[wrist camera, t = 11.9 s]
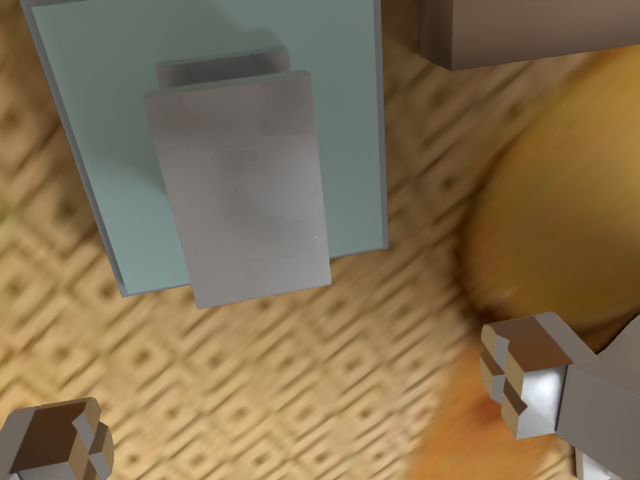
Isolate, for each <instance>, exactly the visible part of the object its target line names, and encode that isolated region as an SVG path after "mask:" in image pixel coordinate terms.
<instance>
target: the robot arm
mask: <svg viewBox="0 0 640 480" xmlns="http://www.w3.org/2000/svg"><path fill="white" fill-rule="evenodd" d="M481 340H482V342H483V343H484V345H485V346H486V349H485V350H484V351H483V353H482V354H481V355H480V372H481V377H482V381H483V383H484V386H485V388H486V390H487V392H488V394H489V396H490V397H491V399H493V400H495V401H496V402H498V403H500V404H502V409H501V416H502V417H503V419H504V420H505V422H506V424H507V425H508V427H509V428H510V430H511V432H512V433H513V435H514V437H515V438H516V440H517V439H522V438H528V437H534V436H539V435H545V434H551V433H556V435H557V436H559V437H560V438H562V439H563V440H565V441H566V442H568V443H569V444H571V445H572V446H574V447H575V453H576V471H577V478H578V479H579V480H640V314H639V315H638V316H637V317H636V318H635V319H634V320H633V321H631V322H630V323H629V324H628V325H627V326H626V327H625V328H624V329H623V331H622V332H621V333H620V334H619V335H618V336H617V337H616V338H615V340H614V341H613V342H612V343H611V344H610V345H609V346H608V347H607V348H606V349H605V350H603V351H602V352H600V353H599V354H597V355H595V353H594V352H593V351H592V350H591V349H590V348H589V347H588V346H587V345H586V344H585V343H584V342H583V341H582V340H581V339H580V338H579V337H578V336H577V335H576V334H575V332H574V331H573V330H572V329H571V328H570V327H569V326H568V325H567V324H566V323H565V322H564V321H563V320H562V319H561V318H560V317H559V316H558V315H557V314H556V313H554V312H552V311H549V312H544V313H539V314H535V315H530V316H528V317H521V318H516V319H511V320H506V321H501V322H495V323H490V324H485V325H484V326H483V329H482V334H481ZM100 414H101V408H100V406H99V404H98V402H97V400H96V399H95V398H92V397H88V398H82V399H76V400H69V401H63V402H57V403H51V404H45V405H41V406H35V407H29V408H23V409H17V410H14V411H13V412H12V413H10V414H9V415H8V417H7V419H6V421H5V423H4V425H3V427H2V429H1V431H0V480H106V479H107V478H108V477H109V476H110V475H111V473H112V468H113V462H114V444H113V440H112V435H111V432H110V430H109V427H108V426H107V425H105V424H103V423H102V422H100V421H99V418H100Z"/></svg>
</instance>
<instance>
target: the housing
mask: <svg viewBox="0 0 640 480" xmlns="http://www.w3.org/2000/svg"><path fill="white" fill-rule="evenodd" d="M155 68H156V72H157V77H158V81H159V85H160V89H157V90H149V91H146V92H145V94H144V97H143V101H144V105H145V109H146V113H147V117H148V121H149V125H150V128H151V132H152V136H153V140H154V144H155V148H156V151H157V155H158V159H159V163H160V167H161V171H162V175H163V178H164V182H165V186H166V190H167V194H168V198H169V201H170V205H171V209H172V213H173V217H174V221H175V225H176V228H177V232H178V236H179V240H180V244H181V248H182V251H183V255H184V259H185V263H186V267H187V271H188V275H189V278H190V282H191V286H192V290H193V294H194V298H195V301H196V305H197V309H203V308H208V307H214V306H219V305H224V304H229V303H235V302H240V301H245V300H250V299H256V298H261V297H266V296H271V295H277V294H282V293H287V292H292V291H298V290H303V289H308V288H313V287H319V286H324V285H329V284H332V283H331V273H330V263H329V253H328V243H327V232H326V222H325V212H324V202H323V192H322V182H321V172H320V161H319V151H318V141H317V131H316V121H315V111H314V100H313V90H312V80H311V75H310V73H309V72H308V71H307V70H306V69H302V70H295V71H291V68H290V59H289V50H288V49H287V47H286V46H278V47H271V48H263V49H256V50H248V51H240V52H233V53H225V54H217V55H210V56H202V57H195V58H187V59H179V60H172V61H164V62H157V64H156V66H155Z"/></svg>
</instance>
